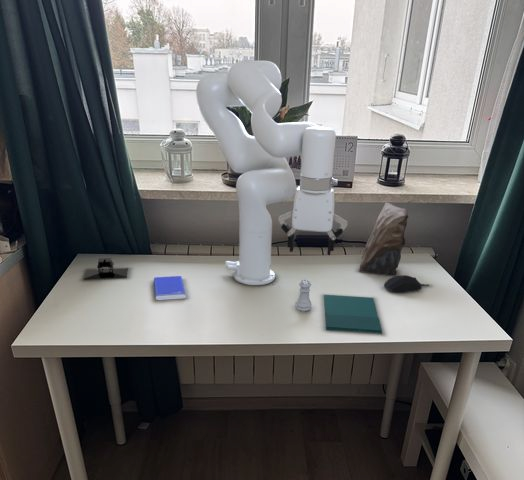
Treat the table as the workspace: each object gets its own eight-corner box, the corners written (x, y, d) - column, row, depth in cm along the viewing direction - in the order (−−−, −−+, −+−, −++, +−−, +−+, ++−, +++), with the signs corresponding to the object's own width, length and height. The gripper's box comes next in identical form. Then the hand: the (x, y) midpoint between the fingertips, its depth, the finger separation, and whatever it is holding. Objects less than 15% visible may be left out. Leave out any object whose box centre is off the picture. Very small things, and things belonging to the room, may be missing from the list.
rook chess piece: (310, 312, 136) (312, 285, 132) (294, 310, 137) (296, 283, 133) (312, 305, 140) (314, 278, 136) (296, 303, 141) (298, 277, 136)
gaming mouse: (434, 290, 151) (437, 277, 149) (389, 294, 148) (392, 282, 146) (423, 281, 157) (425, 269, 154) (379, 285, 153) (381, 273, 151)
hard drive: (185, 293, 140) (181, 275, 151) (155, 295, 139) (153, 277, 149) (185, 298, 141) (181, 280, 151) (155, 300, 140) (154, 282, 150)
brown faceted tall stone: (370, 258, 171) (380, 199, 161) (407, 267, 166) (419, 206, 156) (356, 270, 162) (365, 208, 152) (395, 280, 157) (407, 216, 146)
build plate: (84, 280, 150) (81, 265, 147) (87, 270, 156) (84, 256, 153) (127, 278, 152) (125, 263, 149) (128, 268, 158) (126, 254, 155)
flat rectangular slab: (326, 329, 129) (326, 327, 128) (324, 295, 146) (324, 293, 145) (381, 333, 128) (382, 330, 127) (373, 298, 145) (373, 296, 144)
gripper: (352, 182, 123) (344, 249, 132) (282, 177, 125) (279, 244, 134) (351, 189, 117) (343, 259, 125) (277, 184, 119) (274, 253, 128)
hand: (310, 251), depth 130 cm, fingers open, 9 cm apart
